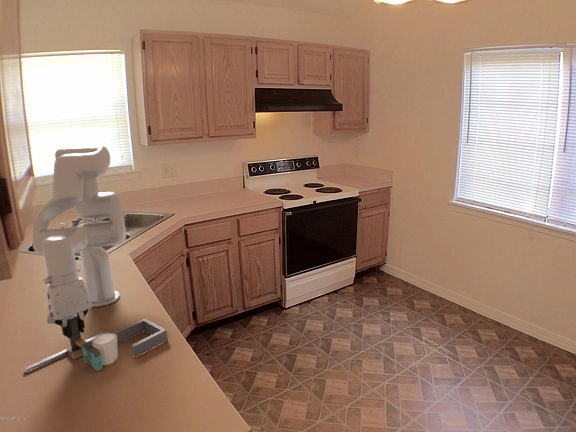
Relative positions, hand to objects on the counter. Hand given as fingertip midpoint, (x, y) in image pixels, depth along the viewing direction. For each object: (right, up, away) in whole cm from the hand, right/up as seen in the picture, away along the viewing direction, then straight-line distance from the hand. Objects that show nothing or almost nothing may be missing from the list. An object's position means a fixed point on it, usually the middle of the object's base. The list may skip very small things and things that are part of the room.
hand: (74, 333), depth 119 cm
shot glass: (+11, -8, -1) cm, 13 cm away
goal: (+17, -5, +7) cm, 19 cm away
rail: (-3, -7, +3) cm, 8 cm away
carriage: (+5, -8, -2) cm, 9 cm away
